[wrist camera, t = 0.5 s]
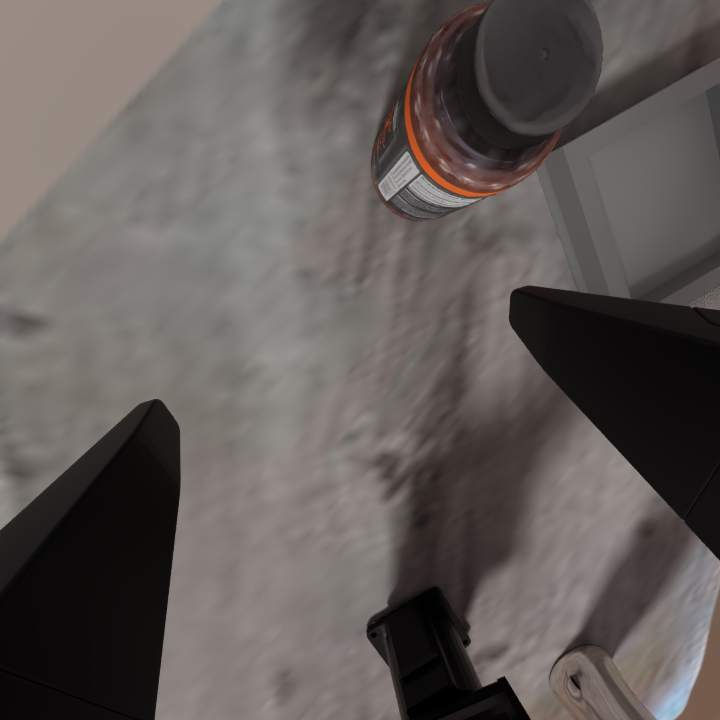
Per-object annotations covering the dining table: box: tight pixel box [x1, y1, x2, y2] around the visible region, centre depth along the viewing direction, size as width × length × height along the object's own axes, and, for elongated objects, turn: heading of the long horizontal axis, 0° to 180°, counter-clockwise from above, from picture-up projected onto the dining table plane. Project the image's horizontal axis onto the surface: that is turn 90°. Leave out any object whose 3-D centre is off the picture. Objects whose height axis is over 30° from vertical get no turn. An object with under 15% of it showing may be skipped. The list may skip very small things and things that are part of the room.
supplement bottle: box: [371, 0, 603, 222], centre depth 15 cm, size 6×6×11 cm
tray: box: [537, 56, 720, 306], centre depth 23 cm, size 12×12×2 cm
